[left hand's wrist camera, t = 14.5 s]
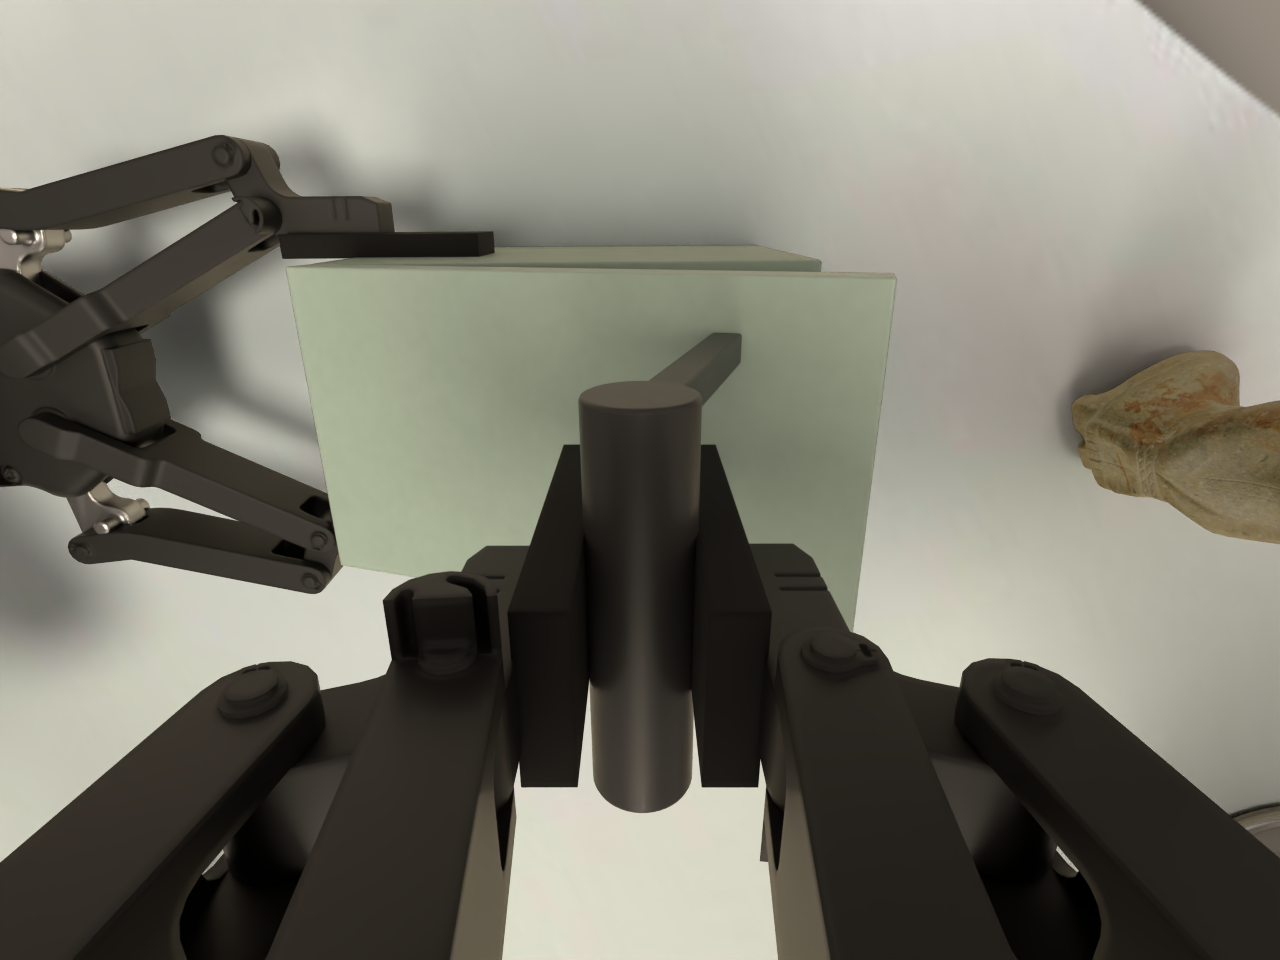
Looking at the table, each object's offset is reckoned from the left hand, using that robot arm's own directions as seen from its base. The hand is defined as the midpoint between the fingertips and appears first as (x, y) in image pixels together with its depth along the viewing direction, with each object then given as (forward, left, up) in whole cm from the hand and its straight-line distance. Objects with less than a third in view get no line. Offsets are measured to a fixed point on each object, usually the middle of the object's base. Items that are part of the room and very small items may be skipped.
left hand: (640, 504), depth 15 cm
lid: (+2, +1, -5) cm, 5 cm away
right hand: (+5, +3, -12) cm, 13 cm away
